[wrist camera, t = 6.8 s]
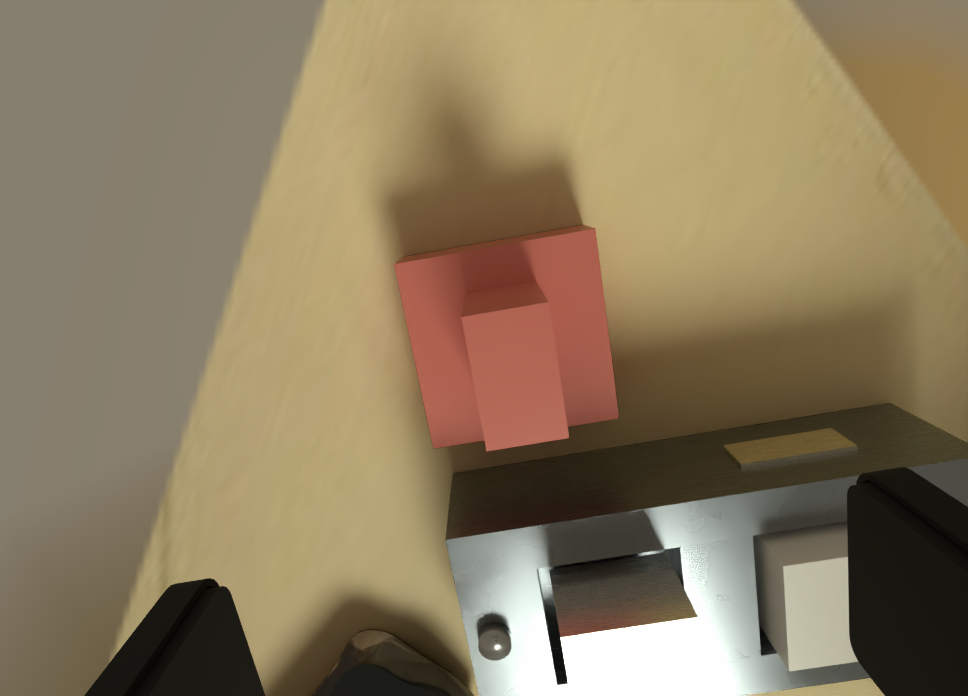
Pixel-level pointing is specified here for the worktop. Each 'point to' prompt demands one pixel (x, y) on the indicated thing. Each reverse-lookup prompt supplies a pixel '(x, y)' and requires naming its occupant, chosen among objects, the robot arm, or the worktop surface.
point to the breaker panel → (661, 552)
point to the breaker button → (805, 594)
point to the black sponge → (387, 671)
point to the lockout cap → (510, 338)
